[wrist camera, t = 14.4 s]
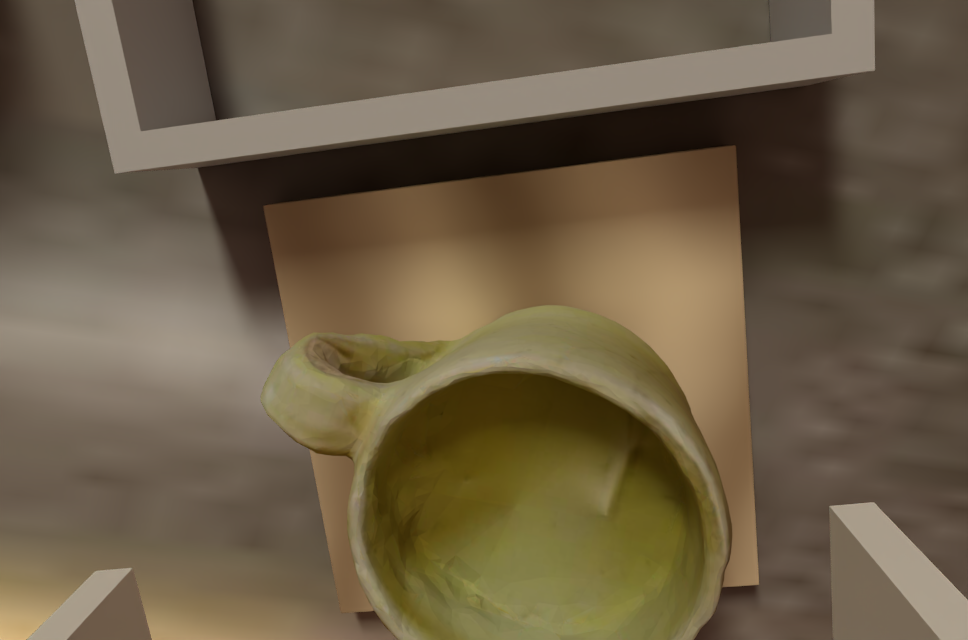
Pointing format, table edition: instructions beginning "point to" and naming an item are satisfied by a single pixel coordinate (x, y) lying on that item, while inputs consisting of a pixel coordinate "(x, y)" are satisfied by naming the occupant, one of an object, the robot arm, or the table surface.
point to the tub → (206, 142)
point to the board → (538, 288)
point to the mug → (516, 479)
